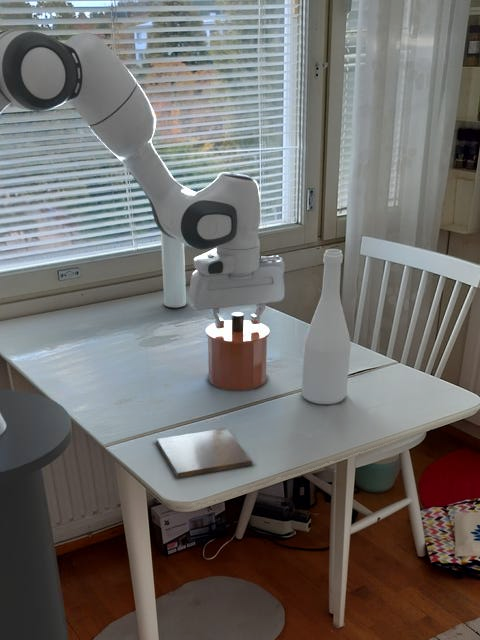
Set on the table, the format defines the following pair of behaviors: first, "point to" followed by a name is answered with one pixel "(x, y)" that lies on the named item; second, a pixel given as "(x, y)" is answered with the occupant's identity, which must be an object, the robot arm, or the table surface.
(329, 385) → the wine bottle
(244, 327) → the canister lid
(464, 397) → the table surface
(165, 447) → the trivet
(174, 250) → the paper towel roll
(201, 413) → the table surface
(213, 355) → the canister
